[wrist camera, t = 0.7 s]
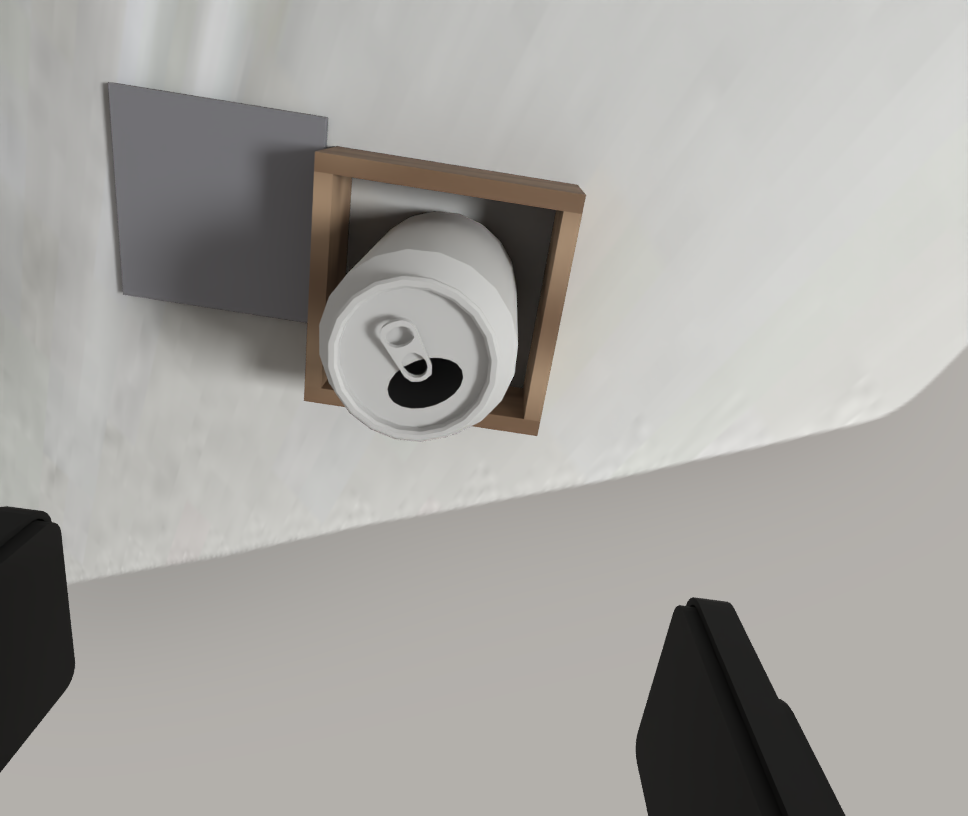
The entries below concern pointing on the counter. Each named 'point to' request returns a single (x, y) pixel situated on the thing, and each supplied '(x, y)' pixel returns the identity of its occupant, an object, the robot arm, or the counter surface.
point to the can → (423, 329)
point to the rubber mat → (214, 200)
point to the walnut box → (343, 163)
